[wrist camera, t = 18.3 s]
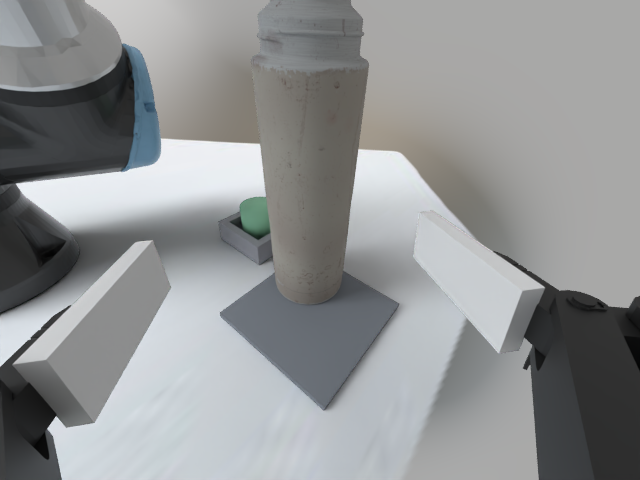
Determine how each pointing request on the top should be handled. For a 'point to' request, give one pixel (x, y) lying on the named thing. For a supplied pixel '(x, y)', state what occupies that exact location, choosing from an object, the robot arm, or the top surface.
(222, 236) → the button housing
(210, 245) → the top surface
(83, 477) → the top surface
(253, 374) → the top surface
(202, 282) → the top surface
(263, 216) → the button
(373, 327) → the pad
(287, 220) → the thermos bottle
